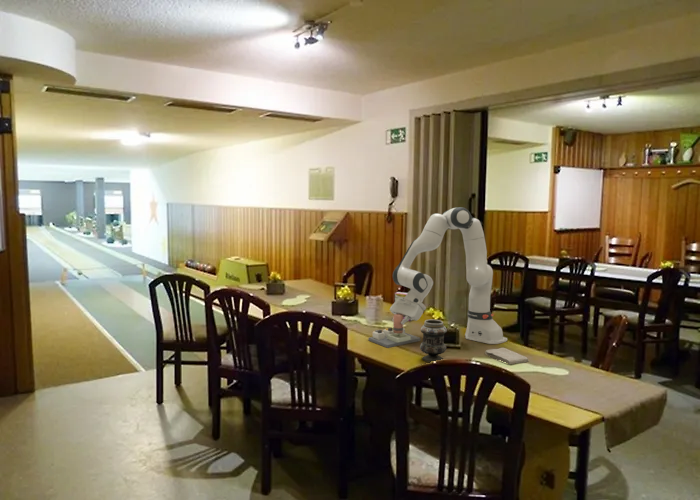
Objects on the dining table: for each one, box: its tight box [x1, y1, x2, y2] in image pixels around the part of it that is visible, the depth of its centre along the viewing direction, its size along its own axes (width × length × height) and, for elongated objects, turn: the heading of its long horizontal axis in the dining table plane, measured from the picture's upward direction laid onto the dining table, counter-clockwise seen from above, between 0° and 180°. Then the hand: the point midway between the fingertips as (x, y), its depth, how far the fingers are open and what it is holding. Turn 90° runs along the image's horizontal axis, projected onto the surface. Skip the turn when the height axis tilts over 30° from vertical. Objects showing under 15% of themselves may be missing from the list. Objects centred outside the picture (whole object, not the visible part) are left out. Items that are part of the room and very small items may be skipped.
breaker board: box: [367, 327, 421, 349], centre depth 262 cm, size 16×22×6 cm
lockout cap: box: [392, 314, 404, 333], centre depth 259 cm, size 5×5×9 cm
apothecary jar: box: [419, 318, 448, 363], centre depth 231 cm, size 12×12×18 cm
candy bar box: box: [394, 291, 413, 322], centre depth 307 cm, size 11×5×16 cm, turn 58°
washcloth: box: [484, 347, 529, 365], centre depth 233 cm, size 12×18×3 cm, turn 25°
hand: (397, 322), depth 258 cm, fingers closed on lockout cap, 5 cm apart
